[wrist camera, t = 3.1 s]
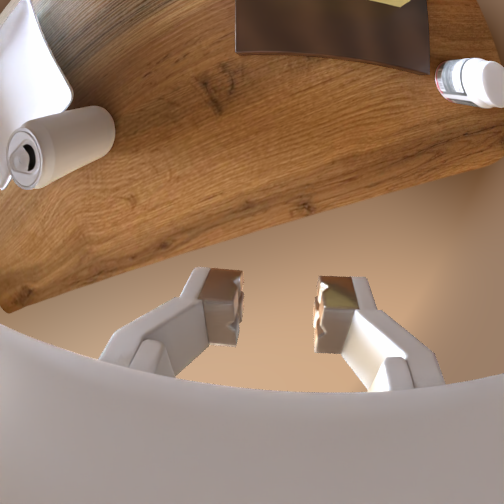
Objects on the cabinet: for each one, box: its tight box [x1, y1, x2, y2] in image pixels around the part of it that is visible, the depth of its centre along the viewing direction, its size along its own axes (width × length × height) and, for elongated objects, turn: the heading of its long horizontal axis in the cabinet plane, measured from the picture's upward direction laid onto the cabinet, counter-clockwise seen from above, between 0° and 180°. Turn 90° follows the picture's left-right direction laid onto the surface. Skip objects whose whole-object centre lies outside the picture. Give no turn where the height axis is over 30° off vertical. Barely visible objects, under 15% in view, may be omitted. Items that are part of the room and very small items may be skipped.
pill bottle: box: [435, 58, 504, 108], centre depth 16 cm, size 5×5×8 cm
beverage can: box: [6, 106, 115, 190], centre depth 23 cm, size 6×6×12 cm
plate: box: [0, 0, 74, 190], centre depth 23 cm, size 21×21×3 cm
